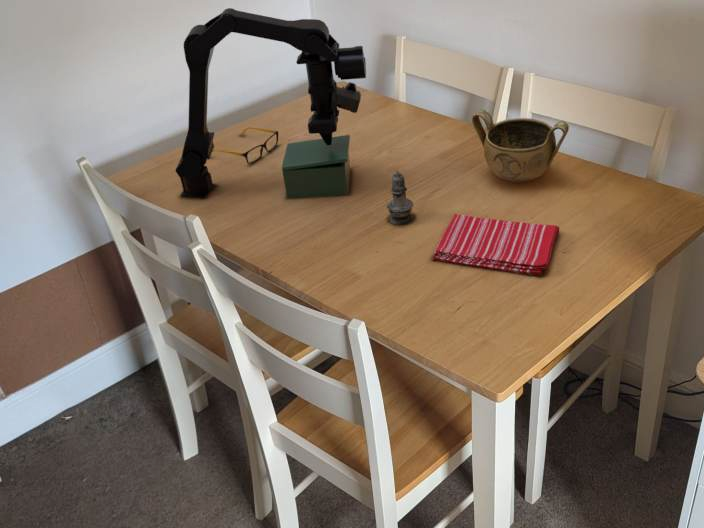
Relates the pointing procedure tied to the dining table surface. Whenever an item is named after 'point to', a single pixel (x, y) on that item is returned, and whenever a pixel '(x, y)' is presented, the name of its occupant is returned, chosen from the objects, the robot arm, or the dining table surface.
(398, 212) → the dark grey tall piece
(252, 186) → the dining table surface
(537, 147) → the ceramic bowl
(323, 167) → the tin
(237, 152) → the eyeglasses
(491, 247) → the dish towel
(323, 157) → the lid
